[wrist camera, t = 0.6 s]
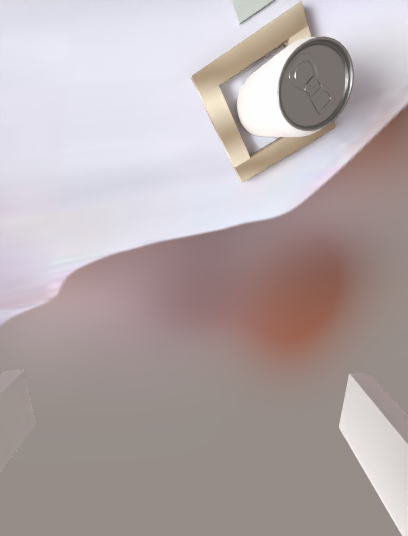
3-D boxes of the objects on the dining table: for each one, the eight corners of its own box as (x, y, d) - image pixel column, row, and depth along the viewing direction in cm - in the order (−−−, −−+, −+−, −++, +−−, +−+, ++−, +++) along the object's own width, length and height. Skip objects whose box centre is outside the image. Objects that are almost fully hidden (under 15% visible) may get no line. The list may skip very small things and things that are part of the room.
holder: (191, 78, 27) (192, 75, 26) (294, 7, 26) (301, 0, 24) (239, 180, 33) (242, 182, 31) (328, 127, 31) (335, 127, 30)
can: (266, 53, 27) (326, 0, 16) (303, 102, 30) (376, 84, 19) (223, 106, 29) (253, 89, 18) (261, 149, 31) (307, 156, 21)
